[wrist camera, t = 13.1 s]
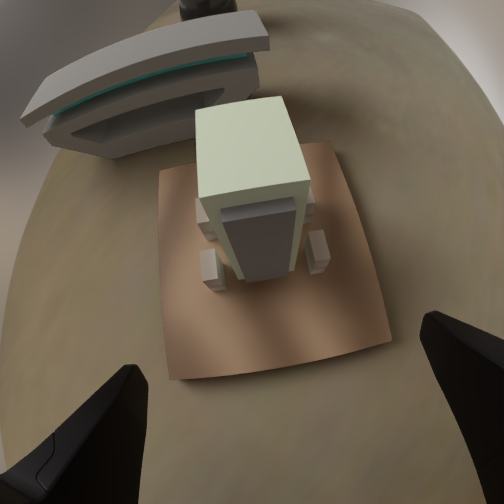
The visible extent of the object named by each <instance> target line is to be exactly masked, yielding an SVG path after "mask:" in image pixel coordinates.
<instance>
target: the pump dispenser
mask: <svg viewBox="0 0 504 504" xmlns="http://www.w3.org/2000/svg"><path fill="white" fill-rule="evenodd" d="M237 10H238V9H237V4H236V0H179V12H180V18H181V21H182V22H184V21H188V20H192V19H197V18H202V17H207V16H212V15H218V14H225V13H231V12H237Z"/></svg>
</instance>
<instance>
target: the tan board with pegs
mask: <svg viewBox="0 0 504 504" xmlns="http://www.w3.org/2000/svg"><path fill="white" fill-rule="evenodd" d="M299 146H300V149H301V151H302V154H303V157H304V160H305V163H306V167H307V170H308V173H309V176H310V179H311V180H310V187H309V193H308V199H307V204H306V210H305V216H304V221H303V227H302V232H301V238H300V243H299V248H298V254H297V259H296V264H295V269H294V271H289V272H288V276H286V277H280V278H275V279H269V280H263V281H257V282H251V283H246V280H245V279H241V280H238V278H237V276H236V274H235V272H234V270H233V268H232V266H231V264H230V262H229V260H228V258H227V256H226V254H225V252H224V250H223V247H222V245H221V243H220V241H219V239H218V237H217V235H216V233H215V231H214V229H213V227H212V225H211V223H210V221H209V219H208V216H207V214H206V212H205V210H204V208H203V206H202V204H201V202H200V200H199V194H198V176H197V162H194V163H190V164H185V165H181V166H177V167H173V168H169V169H165V170H161V171H159V197H158V241H159V272H160V290H161V305H162V317H163V328H164V338H165V347H166V356H167V364H168V371H169V379H170V380H181V379H195V378H207V377H217V376H226V375H234V374H242V373H250V372H256V371H263V370H269V369H275V368H281V367H287V366H292V365H297V364H302V363H307V362H312V361H317V360H321V359H326V358H330V357H334V356H338V355H342V354H346V353H350V352H354V351H358V350H362V349H365V348H369V347H372V346H376V345H379V344H383V343H386V342H389V341H392V337H391V332H390V327H389V323H388V318H387V314H386V309H385V305H384V301H383V297H382V293H381V289H380V285H379V281H378V277H377V274H376V270H375V266H374V263H373V259H372V256H371V253H370V249H369V246H368V243H367V240H366V236H365V233H364V230H363V227H362V224H361V221H360V218H359V215H358V212H357V210H356V207H355V204H354V201H353V198H352V196H351V193H350V190H349V188H348V185H347V182H346V180H345V177H344V175H343V172H342V170H341V167H340V165H339V162H338V160H337V157H336V155H335V153H334V150H333V148H332V146H331V143H330V141H325V142H315V143H306V144H299Z"/></svg>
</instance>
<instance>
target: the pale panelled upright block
mask: <svg viewBox="0 0 504 504" xmlns="http://www.w3.org/2000/svg"><path fill="white" fill-rule="evenodd" d="M195 121H196V153H197V176H198V194H199V200H200V202H201V204H202V206H203V208H204V210H205V212H206V214H207V216H208V219H209V221H210V223H211V225H212V227H213V229H214V231H215V233H216V235H217V237H218V239H219V241H220V243H221V245H222V247H223V250H224V252H225V254H226V256H227V258H228V260H229V262H230V264H231V266H232V268H233V270H234V272H235V274H236V276H237V278H238V280H241V279H245V280H246V283H251V282H257V281H263V280H269V279H275V278H280V277H286V276H288V272H289V271H294V269H295V264H296V259H297V254H298V248H299V243H300V238H301V232H302V227H303V221H304V216H305V210H306V204H307V199H308V193H309V187H310V180H311V179H310V176H309V173H308V170H307V167H306V163H305V160H304V157H303V154H302V151H301V149H300V146H299V143H298V140H297V137H296V134H295V131H294V129H293V126H292V123H291V120H290V118H289V115H288V112H287V110H286V107H285V104H284V102H283V99H282V96H276V97H268V98H260V99H253V100H246V101H240V102H234V103H228V104H222V105H217V106H212V107H207V108H203V109H198V110H195Z"/></svg>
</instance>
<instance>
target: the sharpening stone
mask: <svg viewBox="0 0 504 504" xmlns="http://www.w3.org/2000/svg"><path fill="white" fill-rule="evenodd" d="M269 50H270V46H269V35H268V33H267V31H266V29H265V27H264V25H263V23H262V21H261V19H260V17H259V15H258V14H257V12H256V10H248V11H239V12H231V13H225V14H218V15H212V16H207V17H202V18H197V19H192V20H188V21H184V22H180V23H176V24H172V25H168V26H165V27H161V28H158V29H154V30H151V31H148V32H145V33H142V34H139V35H136V36H133V37H130V38H128V39H125V40H122V41H120V42H117V43H115V44H112V45H110V46H107V47H105V48H103V49H100V50H98V51H96V52H94V53H92V54H89V55H87V56H85V57H83V58H81V59H79V60H77V61H75V62H73V63H71V64H69V65H67V66H66V67H64V68H62V69H60V70H58V71H56V72H55V73H53V74H51V75H50V76H48V77H46V78H45V80H44V81H43V83H42V84H41V86H40V87H39V88H38V90H37V92H36V93H35V95H34V96H33V98H32V99H31V101H30V103H29V104H28V106H27V108H26V109H25V111H24V113H23V114H22V116H21V118H20V120H21V122H22V123H23V124H24V125H25V126H26V127H27V128H28V127H30V126H31V125H33V124H35V123H36V122H38V121H40V120H42V119H44V118H45V117H47V116H49V115H51V114H52V115H51V117H50V119H49V121H48V123H47V125H46V127H45V129H44V131H43V133H42V135H43V136H44V137H45V138H46V139H47V141H48V142H49V143H50V144H51V145H52V146H55V147H60V148H65V149H69V150H74V151H79V152H83V153H88V154H92V155H96V156H101V157H105V158H109V159H116V158H119V157H122V156H126V155H129V154H133V153H136V152H140V151H143V150H147V149H151V148H155V147H159V146H163V145H167V144H171V143H175V142H180V141H184V140H189V139H193V138H196V121H195V110H198V109H203V108H207V107H212V106H217V105H222V104H228V103H234V102H240V101H244V100H245V99H247V98H248V97H249V96H250V95H251V94H252V93H253V92H254V91H255V90H256V89H257V88H259V76H258V67H257V64H256V61H255V58H254V54H253V52H258V51H269Z"/></svg>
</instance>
